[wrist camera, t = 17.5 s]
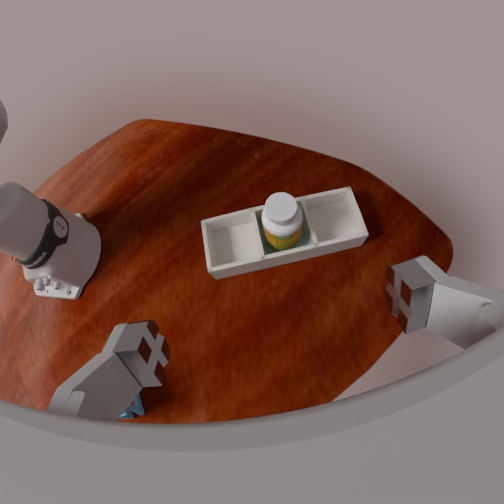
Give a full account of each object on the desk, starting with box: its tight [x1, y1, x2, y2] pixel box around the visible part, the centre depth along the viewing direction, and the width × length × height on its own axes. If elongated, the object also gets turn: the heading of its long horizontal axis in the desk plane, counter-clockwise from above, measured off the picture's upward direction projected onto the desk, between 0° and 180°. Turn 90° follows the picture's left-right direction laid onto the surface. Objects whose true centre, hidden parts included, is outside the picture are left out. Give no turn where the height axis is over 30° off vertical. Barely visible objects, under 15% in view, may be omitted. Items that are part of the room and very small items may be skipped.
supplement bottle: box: [262, 192, 302, 251], centre depth 37 cm, size 5×5×10 cm
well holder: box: [201, 187, 368, 279], centre depth 41 cm, size 23×8×4 cm, turn 101°
